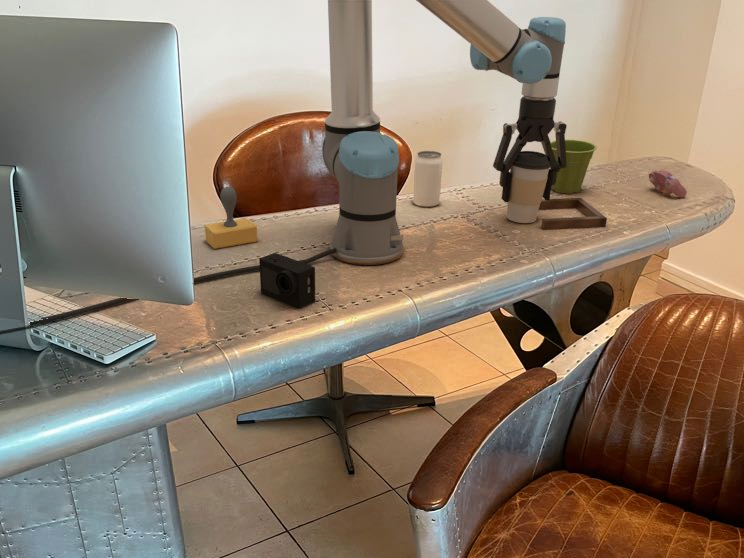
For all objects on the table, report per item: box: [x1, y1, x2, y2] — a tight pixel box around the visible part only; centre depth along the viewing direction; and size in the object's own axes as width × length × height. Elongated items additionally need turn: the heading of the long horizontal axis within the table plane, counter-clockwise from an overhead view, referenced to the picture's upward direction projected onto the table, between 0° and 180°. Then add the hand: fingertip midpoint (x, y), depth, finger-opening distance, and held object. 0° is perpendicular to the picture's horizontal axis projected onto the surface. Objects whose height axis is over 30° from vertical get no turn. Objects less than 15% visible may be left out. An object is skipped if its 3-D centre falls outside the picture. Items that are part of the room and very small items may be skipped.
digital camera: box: [258, 252, 316, 309], centre depth 149 cm, size 10×5×7 cm, turn 47°
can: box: [412, 150, 443, 208], centre depth 195 cm, size 6×6×12 cm
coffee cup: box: [506, 150, 551, 224], centre depth 184 cm, size 9×9×15 cm
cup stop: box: [539, 197, 608, 230], centre depth 189 cm, size 15×15×2 cm
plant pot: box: [550, 139, 598, 195], centre depth 204 cm, size 12×12×11 cm
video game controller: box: [648, 168, 688, 199], centre depth 204 cm, size 10×5×7 cm, turn 17°
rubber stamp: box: [204, 186, 258, 250], centre depth 172 cm, size 10×6×12 cm, turn 117°
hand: (525, 199), depth 186 cm, fingers closed on coffee cup, 9 cm apart
